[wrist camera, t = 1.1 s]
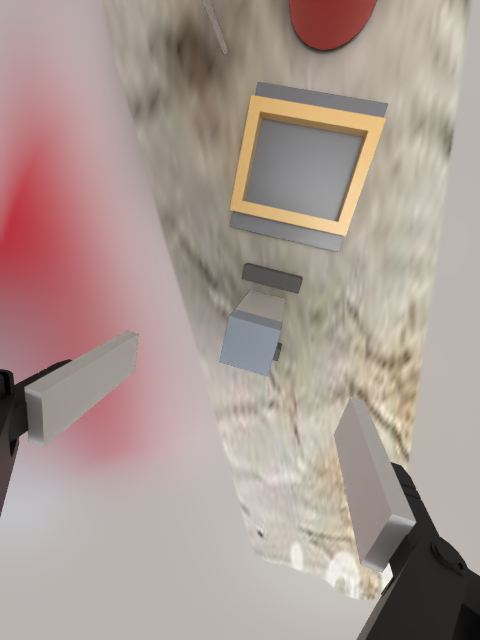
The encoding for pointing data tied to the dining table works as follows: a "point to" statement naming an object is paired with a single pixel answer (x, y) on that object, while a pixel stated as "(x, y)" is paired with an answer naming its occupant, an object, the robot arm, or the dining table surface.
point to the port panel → (304, 163)
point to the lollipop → (215, 25)
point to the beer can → (329, 20)
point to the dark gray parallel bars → (272, 284)
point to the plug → (253, 332)
